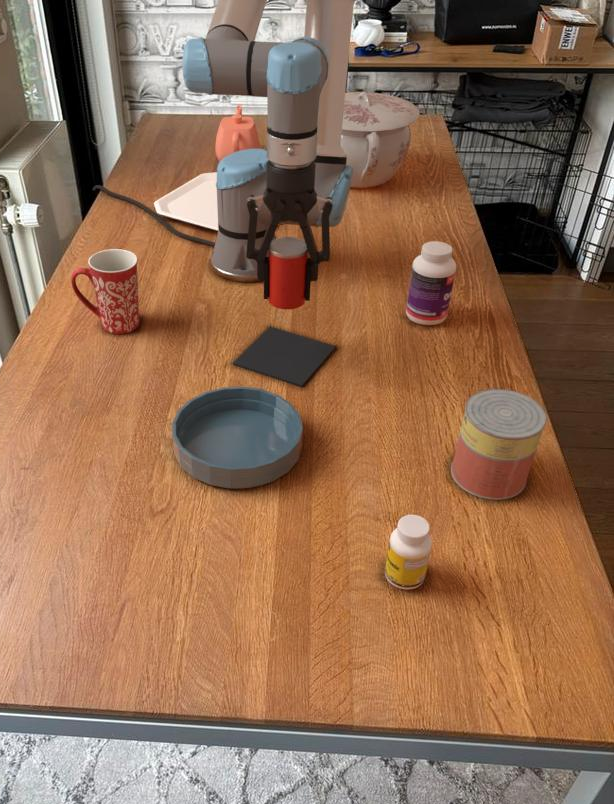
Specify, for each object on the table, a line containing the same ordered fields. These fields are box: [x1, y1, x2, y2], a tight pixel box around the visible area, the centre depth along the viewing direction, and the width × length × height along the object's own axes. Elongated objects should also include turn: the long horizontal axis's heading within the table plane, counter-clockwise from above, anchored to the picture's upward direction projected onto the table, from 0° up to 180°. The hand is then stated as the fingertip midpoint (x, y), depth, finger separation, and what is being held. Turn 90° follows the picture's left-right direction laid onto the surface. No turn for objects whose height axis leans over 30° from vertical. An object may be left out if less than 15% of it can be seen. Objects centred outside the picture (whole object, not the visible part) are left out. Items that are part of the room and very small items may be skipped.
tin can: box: [267, 236, 309, 311], centre depth 131 cm, size 7×7×10 cm
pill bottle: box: [405, 240, 457, 326], centre depth 147 cm, size 8×8×14 cm
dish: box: [171, 385, 304, 490], centre depth 122 cm, size 20×20×4 cm
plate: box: [153, 171, 218, 233], centre depth 188 cm, size 29×29×2 cm
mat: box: [232, 326, 337, 388], centre depth 142 cm, size 14×14×1 cm
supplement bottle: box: [384, 514, 433, 590], centre depth 101 cm, size 5×5×10 cm
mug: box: [70, 248, 140, 335], centre depth 146 cm, size 13×9×14 cm
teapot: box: [214, 104, 261, 162], centre depth 206 cm, size 20×12×12 cm, turn 178°
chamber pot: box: [340, 91, 421, 189], centre depth 195 cm, size 28×28×21 cm
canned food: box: [450, 388, 548, 501], centre depth 115 cm, size 11×11×12 cm
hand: (286, 295), depth 134 cm, fingers closed on tin can, 6 cm apart
